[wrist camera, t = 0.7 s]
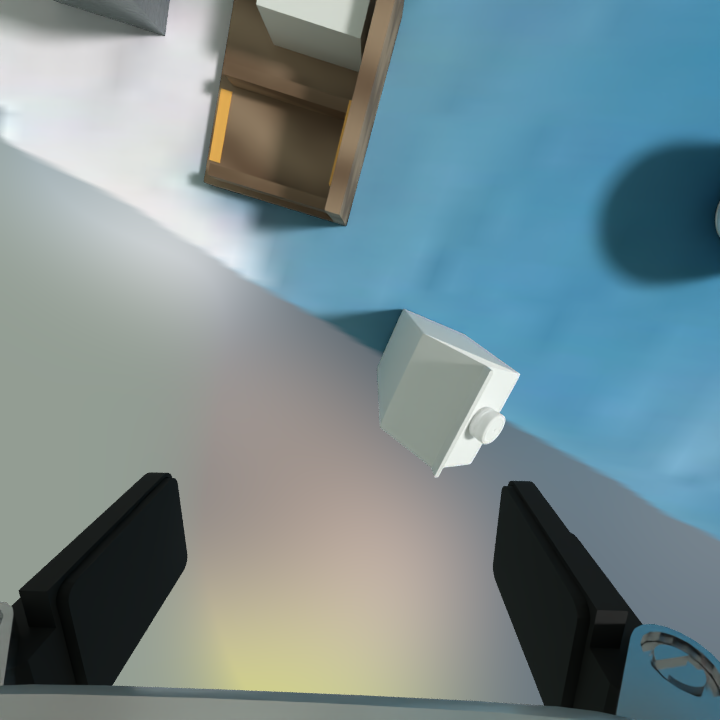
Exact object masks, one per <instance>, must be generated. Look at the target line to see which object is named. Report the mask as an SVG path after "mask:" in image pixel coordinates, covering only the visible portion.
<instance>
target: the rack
mask: <svg viewBox="0 0 720 720" xmlns="http://www.w3.org/2000/svg"><path fill="white" fill-rule="evenodd" d="M403 5H404V0H234V3H233V9H232V15H231V21H230V27H229V33H228V39H227V45H226V51H225V57H224V63H223V69H222V75H221V81H220V87H219V93H218V99H217V105H216V111H215V117H214V123H213V129H212V135H211V141H210V147H209V153H208V159H207V165H206V171H205V177H204V182H205V183H207V184H210V185H213V186H216V187H219V188H223V189H226V190H229V191H233V192H236V193H239V194H242V195H246V196H249V197H252V198H256V199H259V200H262V201H265V202H269V203H272V204H275V205H279V206H282V207H285V208H288V209H292V210H295V211H298V212H302V213H305V214H308V215H311V216H315V217H318V218H321V219H325V220H328V221H331V222H334V223H338V224H341V225H344V226H346V225H347V222H348V218H349V214H350V210H351V207H352V203H353V199H354V195H355V192H356V188H357V184H358V180H359V176H360V173H361V169H362V165H363V161H364V158H365V154H366V150H367V146H368V143H369V139H370V135H371V131H372V127H373V124H374V120H375V116H376V112H377V109H378V105H379V101H380V97H381V94H382V90H383V86H384V82H385V78H386V75H387V71H388V67H389V63H390V60H391V56H392V52H393V48H394V45H395V41H396V37H397V33H398V29H399V26H400V22H401V18H402V13H403Z"/></svg>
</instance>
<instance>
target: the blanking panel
mask: <svg viewBox="0 0 720 720" xmlns="http://www.w3.org/2000/svg"><path fill="white" fill-rule="evenodd" d="M54 1H57V2H60V3H63V4H67V5H70V6H73V7H76V8H79V9H82V10H85V11H89V12H92V13H95V14H98V15H101V16H104V17H107V18H110V19H114V20H117V21H120V22H123V23H126V24H129V25H132V26H136V27H139V28H142V29H145V30H148V31H151V32H154V33H157V34H161V35H164V36H165V32H166V24H167V17H168V9H169V1H170V0H54Z"/></svg>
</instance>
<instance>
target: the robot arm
mask: <svg viewBox="0 0 720 720" xmlns="http://www.w3.org/2000/svg"><path fill="white" fill-rule="evenodd" d="M501 493H502V494H501V501H500V510H499V518H498V526H497V535H496V544H495V553H494V562H493V572H494V577H495V580H496V583H497V586H498V588H499V591H500V593H501V596H502V598H503V601H504V604H505V606H506V609H507V611H508V614H509V616H510V619H511V622H512V624H513V626H514V629H515V632H516V634H517V637H518V639H519V642H520V645H521V647H522V650H523V652H524V655H525V657H526V660H527V662H528V665H529V667H530V670H531V672H532V675H533V677H534V680H535V683H536V685H537V688H538V691H539V693H540V696H541V698H542V701H543V703H544V706H543V705H529V704H514V703H499V702H485V701H467V700H466V701H465V700H447V699H426V698H405V697H384V696H364V695H340V694H317V693H293V692H269V691H245V690H221V689H220V690H219V689H193V688H192V689H191V688H164V687H134V686H112V685H113V683H114V682H115V680H116V678H117V677H118V675H119V674H120V672H121V670H122V669H123V667H124V665H125V664H126V662H127V661H128V659H129V658H130V656H131V654H132V653H133V651H134V649H135V648H136V646H137V645H138V643H139V641H140V639H141V638H142V637H143V635H144V633H145V632H146V630H147V629H148V627H149V625H150V624H151V622H152V621H153V618H154V617H155V616H156V614H157V612H158V611H159V609H160V607H161V606H162V604H163V603H164V601H165V600H166V598H167V596H168V595H169V593H170V592H171V590H172V588H173V587H174V585H175V583H176V582H177V580H178V578H179V577H180V575H181V574H182V572H183V570H184V569H185V566H186V562H187V550H186V542H185V534H184V527H183V520H182V512H181V505H180V497H179V490H178V483H177V480H176V479H175V478H172V476H171V474H169V473H147V474H145V475H144V476H143V477H142V478H141V479H140V480H139V481H138V482H136V483H135V484H134V485H133V486H132V487H131V488H130V489H129V490H128V491H127V492H126V493H124V494H123V495H122V496H121V497H120V498H119V499H118V500H117V501H116V502H115V503H113V504H112V505H111V506H110V507H109V508H108V509H107V510H106V511H105V512H104V513H103V514H102V515H100V516H99V517H98V518H97V519H96V520H95V521H94V522H93V523H92V524H91V525H90V526H88V527H87V528H86V529H85V530H84V531H83V532H82V533H81V534H80V535H79V536H78V537H76V538H75V539H74V540H73V541H72V542H71V543H70V544H69V545H68V546H67V547H66V548H64V549H63V550H62V551H61V552H60V553H59V554H58V555H57V556H56V557H55V558H53V559H52V560H51V561H50V562H49V563H48V564H47V565H46V566H45V567H44V568H43V569H41V571H39V572H38V573H37V574H36V575H35V576H34V577H33V578H32V579H31V580H30V581H28V582H27V583H26V584H25V585H24V586H23V587H22V588H21V589H20V590H19V594H20V597H21V598H19V599H18V600H17V601H16V602H15V603H14V604H13V605H12V606H11V605H9V604H8V603H6V602H0V720H720V662H719V661H718V660H717V659H716V658H715V657H714V656H713V655H712V654H711V653H710V652H709V651H707V650H706V649H705V648H704V647H702V646H701V645H700V644H698V643H697V642H696V641H694V640H692V639H691V638H689V637H687V636H685V635H683V634H682V633H680V632H677V631H675V630H673V629H670V628H668V627H664V626H659V625H655V624H646V625H643V624H642V623H641V622H640V621H639V619H638V618H637V617H636V615H635V614H634V613H633V611H632V610H631V609H630V607H629V606H628V605H627V603H626V602H625V601H624V599H623V598H622V597H621V595H620V594H619V593H618V592H617V590H616V589H615V587H614V586H613V585H612V583H611V582H610V581H609V579H608V578H607V577H606V575H605V574H604V573H603V571H602V570H601V569H600V567H599V566H598V565H597V563H596V562H595V561H594V560H593V558H592V557H591V556H590V554H589V553H588V552H587V550H586V549H585V548H584V546H583V545H582V544H581V542H580V541H579V540H578V538H577V537H576V536H575V535H574V534H572V533H570V532H569V530H568V529H567V528H566V526H565V525H564V524H563V522H562V521H561V520H560V518H559V517H558V515H557V514H556V513H555V511H554V510H553V509H552V507H551V506H550V505H549V503H548V502H547V501H546V499H545V498H544V497H543V495H542V494H541V493H540V491H539V490H538V488H537V487H536V486H535V484H534V483H533V482H530V481H510V482H509V484H508V486H504V487H503V488H502V492H501Z"/></svg>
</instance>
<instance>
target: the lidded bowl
mask: <svg viewBox="0 0 720 720" xmlns="http://www.w3.org/2000/svg"><path fill="white" fill-rule="evenodd" d="M715 227H716V231H717V234H718V236H719V237H720V202H719V204H718V206H717V210H716V214H715Z"/></svg>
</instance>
